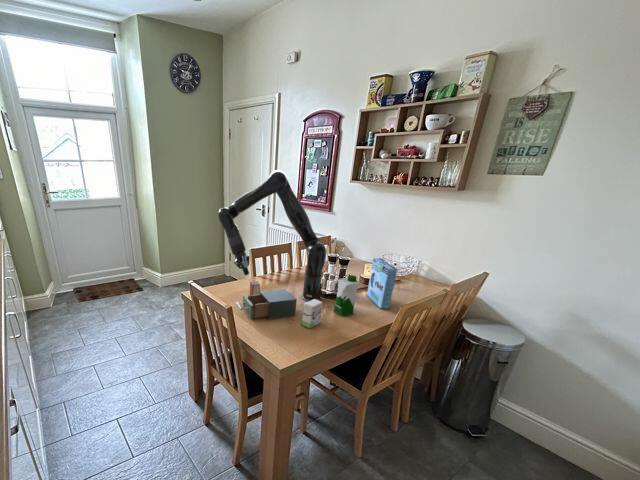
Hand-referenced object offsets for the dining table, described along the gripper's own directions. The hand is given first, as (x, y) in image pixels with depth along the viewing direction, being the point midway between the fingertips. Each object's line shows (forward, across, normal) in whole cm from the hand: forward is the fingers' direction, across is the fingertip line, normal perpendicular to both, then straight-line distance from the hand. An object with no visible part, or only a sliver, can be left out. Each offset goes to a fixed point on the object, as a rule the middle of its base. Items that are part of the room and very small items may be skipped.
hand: (247, 274), depth 178 cm
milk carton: (+35, +18, -38) cm, 55 cm away
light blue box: (+40, +43, -49) cm, 77 cm away
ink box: (+32, -4, -30) cm, 44 cm away
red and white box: (+15, +5, +4) cm, 16 cm away
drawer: (+19, -12, -5) cm, 23 cm away
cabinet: (+23, -2, -12) cm, 26 cm away
